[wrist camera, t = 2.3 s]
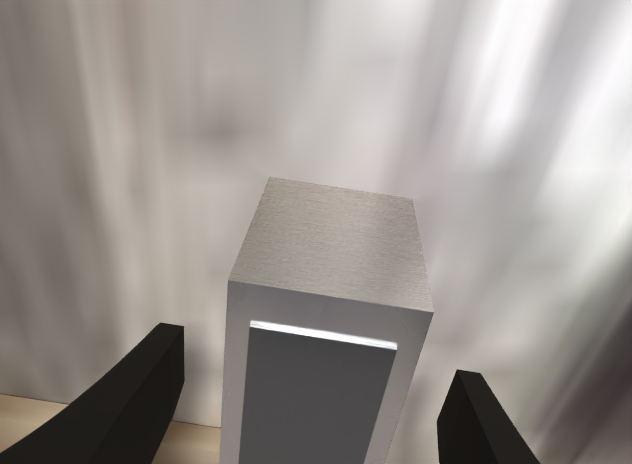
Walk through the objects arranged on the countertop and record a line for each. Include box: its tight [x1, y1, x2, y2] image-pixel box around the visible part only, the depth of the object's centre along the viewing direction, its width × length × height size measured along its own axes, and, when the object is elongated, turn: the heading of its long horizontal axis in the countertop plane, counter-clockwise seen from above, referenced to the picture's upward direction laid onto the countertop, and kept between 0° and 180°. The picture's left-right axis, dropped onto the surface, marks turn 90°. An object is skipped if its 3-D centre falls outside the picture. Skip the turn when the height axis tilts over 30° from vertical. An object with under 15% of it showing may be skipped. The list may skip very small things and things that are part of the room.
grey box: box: [219, 177, 434, 464], centre depth 14 cm, size 4×8×5 cm, turn 172°
